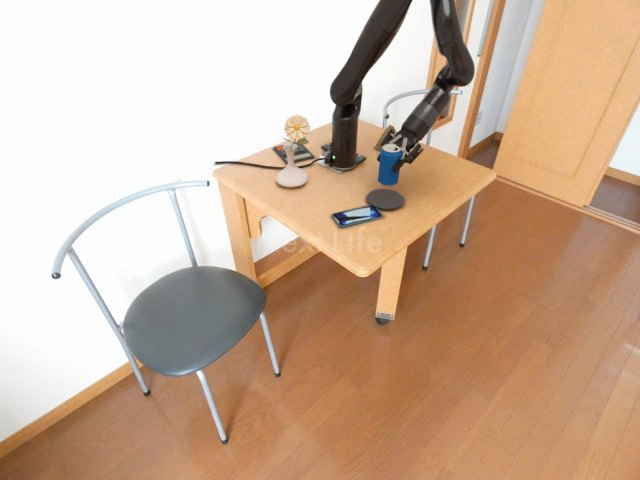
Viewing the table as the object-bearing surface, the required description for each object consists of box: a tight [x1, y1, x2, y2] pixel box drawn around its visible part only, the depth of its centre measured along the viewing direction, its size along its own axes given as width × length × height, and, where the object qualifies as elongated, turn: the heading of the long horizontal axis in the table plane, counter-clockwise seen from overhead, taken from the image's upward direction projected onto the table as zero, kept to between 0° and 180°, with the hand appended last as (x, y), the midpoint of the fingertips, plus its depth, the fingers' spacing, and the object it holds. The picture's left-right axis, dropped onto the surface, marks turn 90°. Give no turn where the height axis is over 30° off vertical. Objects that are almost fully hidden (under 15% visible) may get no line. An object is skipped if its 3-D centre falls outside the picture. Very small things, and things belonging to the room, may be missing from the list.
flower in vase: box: [275, 114, 311, 189], centre depth 124 cm, size 13×11×25 cm
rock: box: [374, 124, 397, 152], centre depth 149 cm, size 11×9×10 cm
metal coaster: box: [366, 188, 404, 212], centre depth 123 cm, size 12×12×1 cm
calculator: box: [273, 141, 315, 165], centre depth 150 cm, size 12×1×15 cm
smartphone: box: [331, 204, 384, 229], centre depth 116 cm, size 7×1×15 cm
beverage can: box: [377, 144, 401, 188], centre depth 115 cm, size 6×6×12 cm
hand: (385, 166), depth 114 cm, fingers closed on beverage can, 6 cm apart
